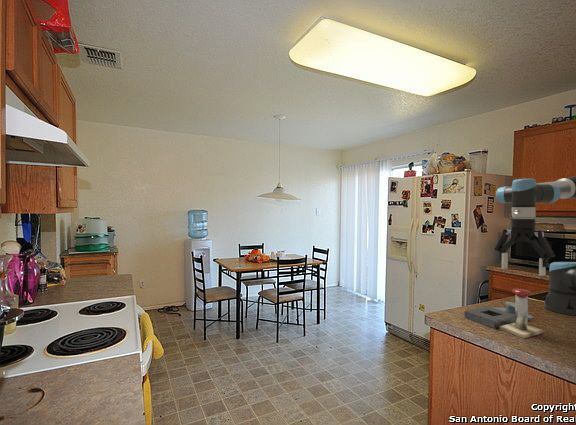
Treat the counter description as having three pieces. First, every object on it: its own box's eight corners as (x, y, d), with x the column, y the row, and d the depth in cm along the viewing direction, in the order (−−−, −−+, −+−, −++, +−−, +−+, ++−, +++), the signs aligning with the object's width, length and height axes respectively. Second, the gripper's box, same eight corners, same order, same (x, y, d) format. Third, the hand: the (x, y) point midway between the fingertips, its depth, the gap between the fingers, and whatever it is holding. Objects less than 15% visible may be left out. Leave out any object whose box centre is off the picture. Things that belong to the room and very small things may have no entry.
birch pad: (517, 324, 129) (518, 321, 129) (542, 333, 121) (542, 330, 121) (499, 329, 124) (499, 326, 124) (524, 338, 116) (524, 335, 116)
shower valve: (508, 308, 134) (489, 298, 149) (508, 320, 134) (488, 309, 149) (538, 309, 133) (516, 298, 148) (538, 321, 133) (516, 310, 148)
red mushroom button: (517, 324, 126) (518, 288, 126) (534, 329, 121) (534, 291, 120) (508, 326, 124) (508, 289, 123) (524, 332, 118) (525, 293, 118)
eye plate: (488, 312, 143) (488, 306, 143) (518, 322, 131) (518, 315, 131) (464, 317, 137) (464, 310, 137) (494, 328, 125) (494, 321, 125)
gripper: (485, 217, 131) (485, 266, 132) (555, 219, 108) (554, 279, 109) (497, 216, 134) (496, 265, 135) (567, 219, 111) (566, 277, 112)
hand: (522, 271), depth 122 cm, fingers open, 13 cm apart
